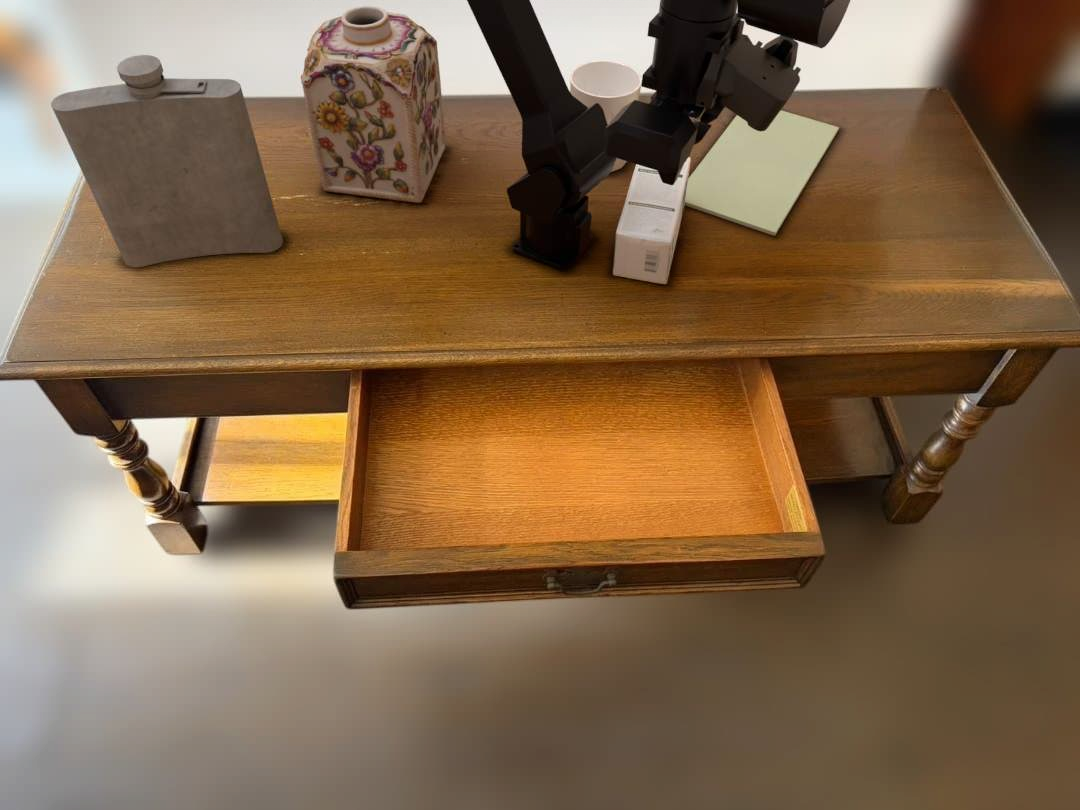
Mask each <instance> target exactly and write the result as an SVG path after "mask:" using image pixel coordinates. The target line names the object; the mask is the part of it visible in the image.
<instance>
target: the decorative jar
mask: <svg viewBox="0 0 1080 810" xmlns="http://www.w3.org/2000/svg"><path fill="white" fill-rule="evenodd" d="M306 54H307V55H306V57H305V58H304V65H303V72H302V74H301V75H300V79H301V80H300V82H301V86H302V92H303V95H304V101H305V102H304V103H305V107H306V113H307V119H308V123H309V129H310V135H311V139H312V144H313V149H314V153H315V158H316V163H317V166H318V171H319V176H320V179H321V185H322V189H323V190H324V191H325V192H330V193H337V194H347V195H353V196H362V197H370V198H376V199H377V198H378V199H384V200H392V201H400V202H408V203H415V204H416V203H417V204H420V203H422V202H423V200H424V198H425V196H426V193H427V191H428V189H429V187H430V184H431V182H432V179H433V177H434V175H435V173H436V170H437V168H438V165H439V162H440V160H441V158H442V156H443V153H444V151H445V149H446V129H445V118H444V117H445V116H444V106H443V95H442V83H441V72H440V62H439V51H438V40H436V38H435V37H434V36H433V35H431V34H430V32H428V31H427V30H426V29H425V27H423V26H421V25H419V24H418V23H416V22H415V21H414V20H412V19H411V18H409V16H407V15H406V14H403V13H398V12H389V11H387V10H386V9H384V8H382V7H379V6H374V5H361V6H356V7H353V8H349V9H348V10H346V11H345V12H343V13H342V15H340V16H338V17H335V18H331V19H329V20H325V21H324V22H322V24H321V25H320V26H319V27H318V28H317V29H316V30H315V32H314V33H313V34H312V35H311V38H310V40H309V44H308V48H307V53H306Z"/></svg>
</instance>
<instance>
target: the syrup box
mask: <svg viewBox="0 0 1080 810" xmlns="http://www.w3.org/2000/svg"><path fill="white" fill-rule="evenodd" d="M691 161H692V157H690V156H689V157H688V159H687V160H686V161H685V163H684V165H683V168H682V170H681V172H680V174H679V176H678V179H677V180H676V182H675V183H674V185H668V184H665V183H663V182H662V180H661V178H660V175H659V173H658V171H657V170H654V169H651V168H647V167H644V166H641V165H638V164H635V167H634V170H633V173H632V177H631V179H630V183H629V187H628V189H627V193H626V195H625V199H624V204H623V206H622V210H621V213H620V216H619V219H618V223H617V227H616V230H615V237H614V238H615V239H614V251H613V252H614V254H613V266H612V276H615V277H622V278H627V279H632V280H638V281H643V282H648V283H653V284H660V285H667V284H668V281H669V276H670V271H671V267H672V263H673V258H674V253H675V250H676V246H677V241H678V236H679V231H680V228H681V222H682V218H683V214H684V209H685V198H686V191H687V184H688V179H689V177H690V170H691V169H690V168H691Z"/></svg>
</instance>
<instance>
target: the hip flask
mask: <svg viewBox="0 0 1080 810" xmlns="http://www.w3.org/2000/svg"><path fill="white" fill-rule="evenodd" d="M116 71H117V74H118V76H119V78H120V80H121V81H122V82H124V83H121V84H120V83H119V84H111V85H106V86H98V87H91V88H86V89H85V88H84V89H80V90H74V91H68V92H63V93H62V94H59V95H57V96H55V97H54V98H53V99H52V101H51V102H50V106H51V108H52V110H53V113H54V115H55V118H56V119H57V121H58V123H59V125H60V128H61V130H62V132H63V134H64V136H65V138H66V141H67V142H68V145H69V147H70V149H71V151H72V153H73V156H74V158H75V160H76V162H77V164H78V166H79V168H80V170H81V172H82V174H83V177H84V179H85V181H86V184H87V185H88V187H89V189H90V192H91V194H92V196H93V198H94V200H95V203H96V205H97V207H98V208H99V211H100V213H101V216H102V217H103V219H104V221H105V223H106V225H107V228H108V230H109V232H110V234H111V237H112V238H113V241H114V243H115V245H116V247H117V250H118V251H119V253H120V255H121V258H122V260H123V262H124V264H125V265H126V266H127V267H130V268H143V267H147V266H151V265H156V264H161V263H165V262H170V261H171V262H172V261H177V260H183V259H190V258H197V257H206V256H207V257H208V256H216V255H226V254H227V255H229V254H268V253H269V254H270V253H272V252H273V253H274V252H275V251H277V250H279V249H280V248H281V247H282V246H283V243H284V239H283V236H282V232H281V228H280V225H279V220H278V218H277V214H276V211H275V206H274V203H273V198H272V195H271V192H270V188H269V185H268V181H267V177H266V174H265V170H264V166H263V162H262V159H261V154H260V151H259V148H258V144H257V141H256V136H255V133H254V130H253V126H252V122H251V118H250V115H249V112H248V108H247V103H246V100H245V96H244V93H243V89H242V86H241V84H240V83H239V81H237V80H234V79H229V78H165V76H164V74H163V73H164V68H163V65H162V62H161V60H160V58H158V57H156V56H154V55H149V54H138V55H133V56H130V57H126V58H124V59H123V60H122V61H120V62H119V63H118V64H117V66H116Z"/></svg>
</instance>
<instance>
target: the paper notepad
mask: <svg viewBox="0 0 1080 810" xmlns="http://www.w3.org/2000/svg"><path fill="white" fill-rule="evenodd" d="M839 130H840V127H839V126H836V125H832V124H829V123H826V122H822V121H819V120H815V119H812V118H809V117H806V116H802V115H799V114H795V113H791V112H788V111H785V110H782V109H781V110H780V112H779V113H778V115H777V116H776V117H775V119H774V120H773V121H772V123H771V124H770V126H769V127H768V128H767V130H765V131H757V130H755V129H753V128H751V127H750V126H748V123H747V121H745V120H744V119H742V118H741V117H739V116H738V115H736V116H735V117H734V118H733V119H732V121H731V122H730V124H729V125H728V126H727V127H726V129H725V130H724V131H723V133H722V134H721V135H720V137H719V138H718V139H717V141H716V142H715V143H714V144H713V146H712V147H711V149H710V150H709V151H708V153H706V155H705V156H704V157H703V159H702V160H701V161H700V163H699V164H698V165H697V166H696V168H695V169H694V171H693V172H692V173H691V175H689V177H688V184H687V191H686V198H685V205H684V207H689V208H692V209H694V210H697V211H700V212H703V213H707V214H709V215H712V216H715V217H718V218H721V219H724V220H726V221H729V222H732V223H735V224H738V225H741V226H744V227H747V228H750V229H752V230H756V231H759V232H762V233H765V234H766V235H767V234H768V235H770V236H773V237H775V236H776V235H777V234H778V231H779V230H780V228H781V227H782V225H783V224H784V222H785V220H786V218H787V217H788V215H789V213H790V211H791V210H792V209H793V207H794V205H795V203H796V202H797V200H798V199H799V197H800V195H801V193H802V192H803V190H804V189H805V187H806V185H807V183H808V182H809V180H810V178H811V177H812V175H813V174H814V172H815V170H816V168H817V167H818V165H819V164H820V162H821V160H822V158H823V157H824V155H825V154H826V152H827V150H828V149H829V147H830V145H831V143H832V142H833V140H834V138H835V137H836V135H837V134H838V132H839Z"/></svg>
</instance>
